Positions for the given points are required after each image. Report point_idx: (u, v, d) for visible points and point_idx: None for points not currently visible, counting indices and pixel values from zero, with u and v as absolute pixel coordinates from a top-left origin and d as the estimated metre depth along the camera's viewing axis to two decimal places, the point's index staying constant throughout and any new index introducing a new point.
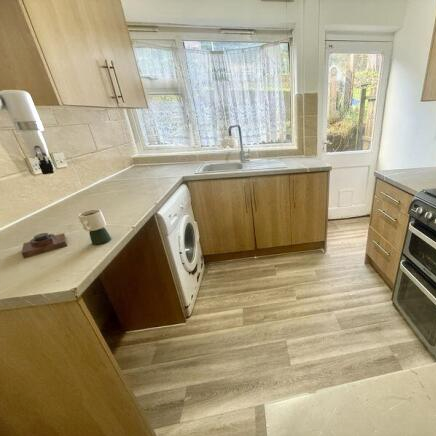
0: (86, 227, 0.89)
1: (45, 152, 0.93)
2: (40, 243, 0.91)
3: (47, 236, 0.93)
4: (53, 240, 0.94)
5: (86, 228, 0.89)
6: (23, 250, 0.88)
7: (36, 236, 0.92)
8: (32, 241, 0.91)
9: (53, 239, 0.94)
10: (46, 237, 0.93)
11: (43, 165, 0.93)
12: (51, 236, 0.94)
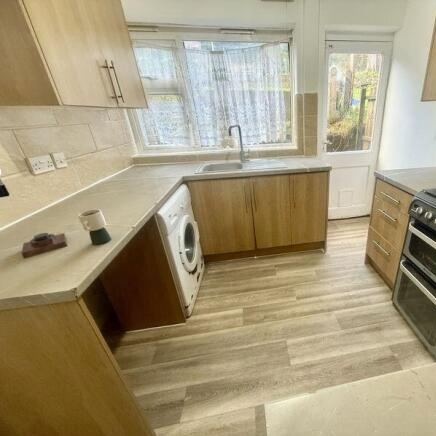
0: (86, 227, 0.89)
1: None
2: (40, 243, 0.91)
3: (47, 236, 0.93)
4: (53, 240, 0.94)
5: (86, 228, 0.89)
6: (23, 250, 0.88)
7: (36, 236, 0.92)
8: (32, 241, 0.91)
9: (53, 239, 0.94)
10: (46, 237, 0.93)
11: None
12: (51, 236, 0.94)
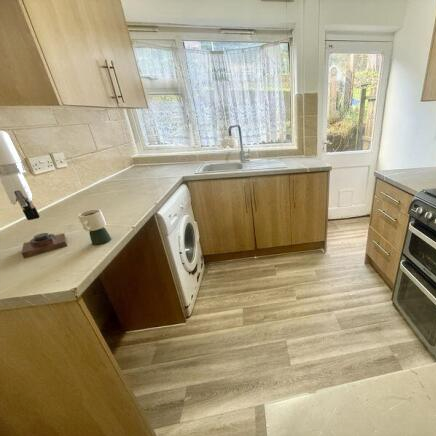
0: (86, 227, 0.89)
1: (27, 196, 0.84)
2: (40, 243, 0.91)
3: (47, 236, 0.93)
4: (53, 240, 0.94)
5: (86, 228, 0.89)
6: (23, 250, 0.88)
7: (36, 236, 0.92)
8: (32, 241, 0.91)
9: (53, 239, 0.94)
10: (46, 237, 0.93)
11: (27, 211, 0.87)
12: (51, 236, 0.94)
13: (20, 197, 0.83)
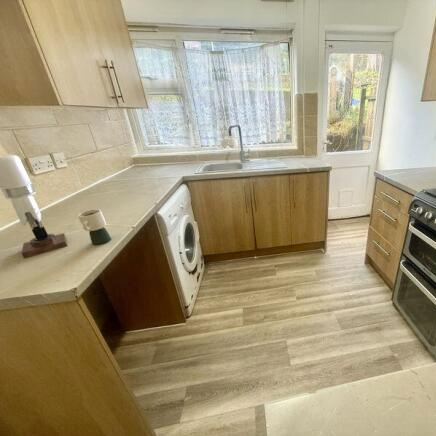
0: (86, 227, 0.89)
1: (36, 217, 0.87)
2: (40, 243, 0.91)
3: None
4: (53, 240, 0.94)
5: (86, 228, 0.89)
6: (23, 250, 0.88)
7: None
8: (32, 241, 0.91)
9: (53, 239, 0.94)
10: None
11: (36, 230, 0.90)
12: (51, 236, 0.94)
13: (30, 218, 0.86)
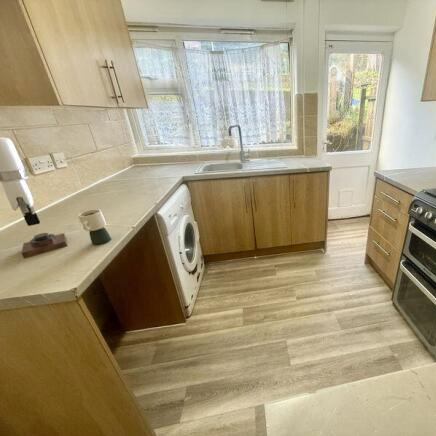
0: (86, 227, 0.89)
1: (28, 203, 0.84)
2: (40, 243, 0.91)
3: (47, 236, 0.93)
4: (53, 240, 0.94)
5: (86, 228, 0.89)
6: (23, 250, 0.88)
7: (36, 236, 0.92)
8: (32, 241, 0.91)
9: (53, 239, 0.94)
10: (46, 237, 0.93)
11: (28, 217, 0.88)
12: (51, 236, 0.94)
13: (21, 203, 0.84)
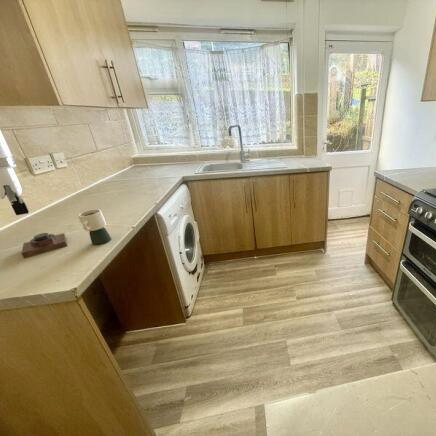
0: (86, 227, 0.89)
1: (16, 191, 0.83)
2: (40, 243, 0.91)
3: (47, 236, 0.93)
4: (53, 240, 0.94)
5: (86, 228, 0.89)
6: (23, 250, 0.88)
7: (36, 236, 0.92)
8: (32, 241, 0.91)
9: (53, 239, 0.94)
10: (46, 237, 0.93)
11: (16, 206, 0.87)
12: (51, 236, 0.94)
13: (9, 192, 0.82)
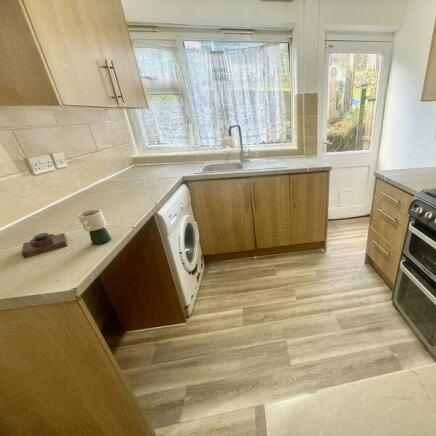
0: (86, 227, 0.89)
1: None
2: (40, 243, 0.91)
3: (47, 236, 0.93)
4: (53, 240, 0.94)
5: (86, 228, 0.89)
6: (23, 250, 0.88)
7: (36, 236, 0.92)
8: (32, 241, 0.91)
9: (53, 239, 0.94)
10: (46, 237, 0.93)
11: None
12: (51, 236, 0.94)
13: None
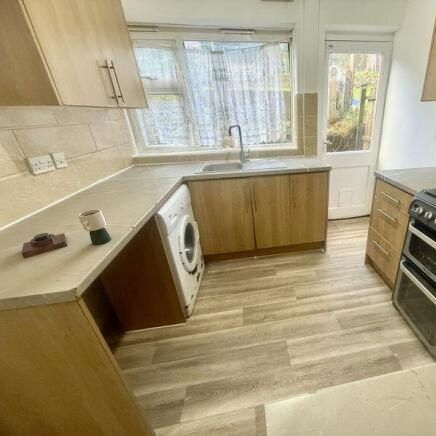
0: (86, 227, 0.89)
1: None
2: (40, 243, 0.91)
3: (47, 236, 0.93)
4: (53, 240, 0.94)
5: (86, 228, 0.89)
6: (23, 250, 0.88)
7: (36, 236, 0.92)
8: (32, 241, 0.91)
9: (53, 239, 0.94)
10: (46, 237, 0.93)
11: None
12: (51, 236, 0.94)
13: None
